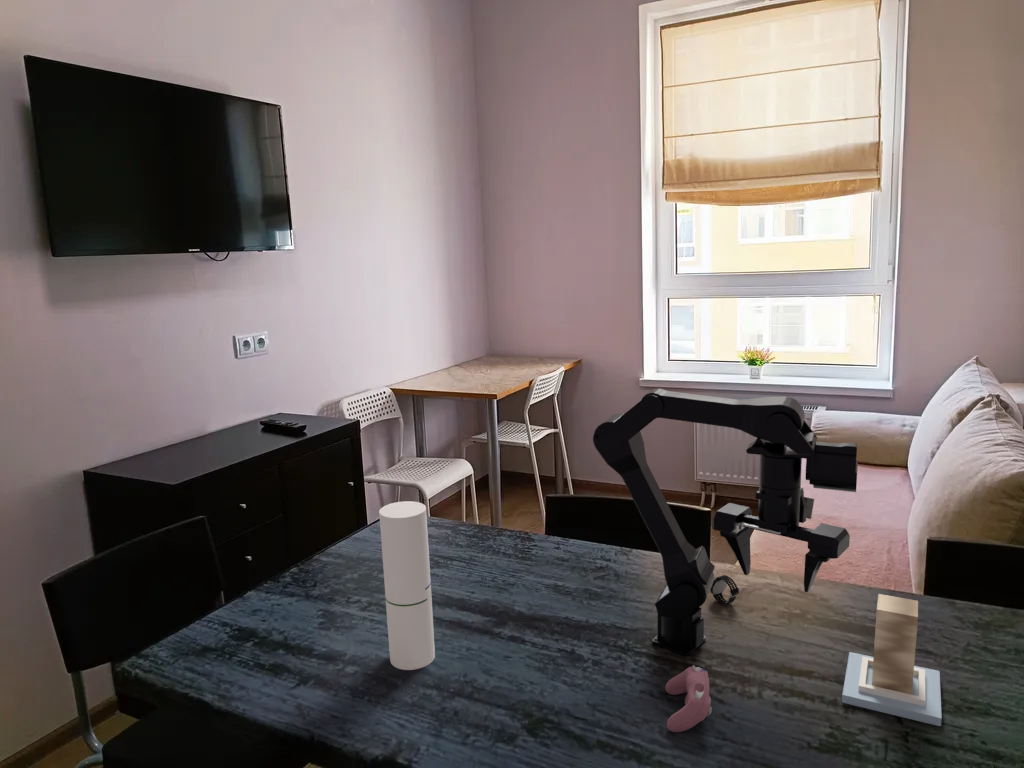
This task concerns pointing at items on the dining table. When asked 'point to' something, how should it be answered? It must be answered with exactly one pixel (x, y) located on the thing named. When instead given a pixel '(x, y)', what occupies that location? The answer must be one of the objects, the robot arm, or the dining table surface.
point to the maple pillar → (895, 643)
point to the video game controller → (690, 698)
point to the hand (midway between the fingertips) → (776, 582)
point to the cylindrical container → (407, 584)
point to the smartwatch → (720, 586)
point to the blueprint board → (893, 692)
